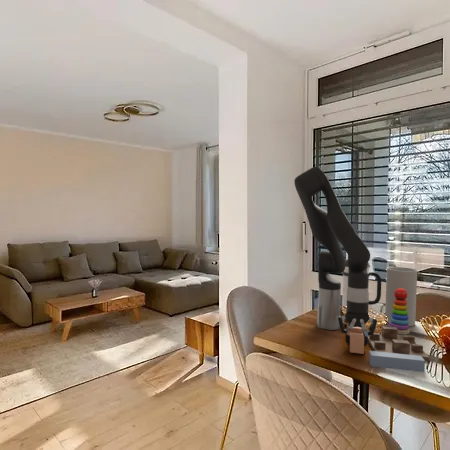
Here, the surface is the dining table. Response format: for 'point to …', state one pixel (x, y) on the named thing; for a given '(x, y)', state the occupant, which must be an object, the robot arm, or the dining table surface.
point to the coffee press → (345, 285)
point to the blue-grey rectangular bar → (397, 361)
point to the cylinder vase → (404, 280)
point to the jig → (395, 343)
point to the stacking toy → (400, 312)
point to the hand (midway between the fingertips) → (356, 344)
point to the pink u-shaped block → (357, 340)
